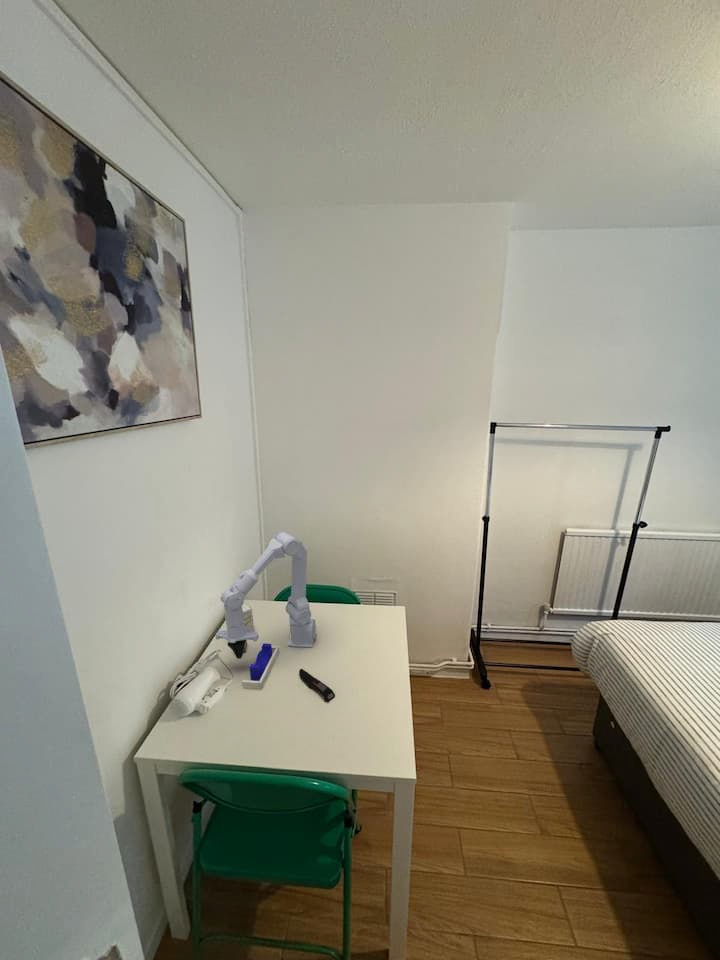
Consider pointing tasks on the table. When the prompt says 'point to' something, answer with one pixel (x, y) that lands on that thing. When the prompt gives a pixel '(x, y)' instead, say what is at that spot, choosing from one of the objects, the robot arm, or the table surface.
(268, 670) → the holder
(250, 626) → the ink box
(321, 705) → the table surface
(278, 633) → the table surface
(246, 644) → the walnut block
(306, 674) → the electric trimmer
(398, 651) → the table surface
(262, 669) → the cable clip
